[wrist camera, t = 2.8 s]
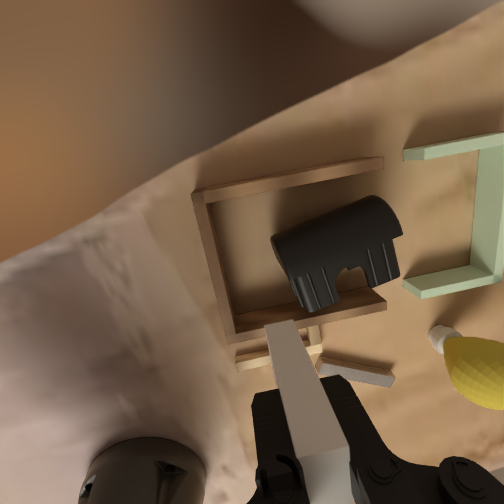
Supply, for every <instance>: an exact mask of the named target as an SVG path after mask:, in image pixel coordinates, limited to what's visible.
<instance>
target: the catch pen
mask: <svg viewBox="0 0 504 504" xmlns="http://www.w3.org/2000/svg"><path fill="white" fill-rule="evenodd" d="M474 150H479V160H478V171H477V183H476V195H475V206H474V218H473V230H472V241H471V253H470V265H467V266H462V267H458V268H453V269H448V270H444V271H439V272H434V273H430V274H425V275H420V276H416V277H411V278H406V279H403V287H404V288H405V289H406V290H408V291H409V292H411V293H412V294H414V295H415V296H417V297H418V298H420V299H425V298H430V297H434V296H439V295H443V294H448V293H452V292H457V291H462V290H466V289H471V288H475V287H480V286H484V285H489V284H494V283H498V282H502V277H503V269H504V131H503V132H494V133H487V134H482V135H477V136H472V137H467V138H461V139H456V140H451V141H446V142H441V143H436V144H430V145H425V146H420V147H415V148H410V149H404V150H403V160H428V159H433V158H438V157H443V156H448V155H453V154H458V153H463V152H469V151H474Z"/></svg>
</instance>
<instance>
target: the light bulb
mask: <svg viewBox="0 0 504 504" xmlns="http://www.w3.org/2000/svg"><path fill="white" fill-rule="evenodd" d="M428 336H429V339H430V340H431V341H432V345H433V347H434V348H435V349H436V350H437V351H439V352H440V353H441V354H444V358H445V364H446V367H447V370H448V372H449V375H450V378H451V381H452V383H453V385H454V387H455V388H456V389H457V390H458V391H459V392H460V393H461V394H462V395H463V396H465V397H466V398H467V399H469V400H470V401H472V402H473V403H475V404H477V405H480V406H483V407H486V408H490V409H496V410H504V343H501V342H498V341H494V340H488V339H483V338H477V337H463V336H462V335H461V334H460V333H459V332H458V331H456V330H455V329H453V328H450V327H444V326H443V325H437V326H435V327H433V328H432V329H431V330H430V332H429V335H428Z"/></svg>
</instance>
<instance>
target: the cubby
mask: <svg viewBox="0 0 504 504" xmlns="http://www.w3.org/2000/svg"><path fill="white" fill-rule="evenodd" d="M380 169H384V157H363V158H358V159H353V160H347V161H342V162H337V163H332V164H327V165H321V166H316V167H311V168H306V169H301V170H295V171H290V172H285V173H280V174H275V175H270V176H264V177H259V178H254V179H249V180H244V181H238V182H233V183H228V184H223V185H218V186H213V187H207V188H202V189H197V190H194V191H193V192H192V193H191V198H192V202H193V206H194V210H195V214H196V218H197V222H198V226H199V230H200V234H201V238H202V242H203V246H204V250H205V254H206V258H207V262H208V266H209V270H210V274H211V278H212V282H213V286H214V290H215V294H216V298H217V302H218V306H219V310H220V314H221V318H222V322H223V326H224V330H225V334H226V338H227V342H228V345H229V344H233V343H238V342H242V341H247V340H251V339H256V338H261V337H265V336H266V333H265V328H264V325H268V324H273V323H278V322H282V321H287V320H292V319H293V321H294V323H295V325H296V327H297V329H302V328H306V327H311V326H315V325H320V324H325V323H329V322H334V321H338V320H343V319H347V318H352V317H357V316H361V315H366V314H370V313H375V312H379V311H384V310H387V301H386V300H385V299H383V298H382V297H381V296H380V295H379V294H377V293H376V292H375V291H374V290H373V289H372V288H370V287H364V288H360V289H355V290H350V291H346V292H341V293H338V296H339V299H340V301H339V302H337V303H334V304H332V305H330V306H327V307H325V308H322V309H320V310H317V311H315V312H307V311H306V310H305V308H304V307H301V306H300V303H299V302H295V303H290V304H285V305H281V306H276V307H271V308H267V309H262V310H257V311H253V312H248V313H243V314H239V315H234V312H233V307H232V303H231V298H230V294H229V290H228V285H227V281H226V277H225V272H224V268H223V264H222V259H221V255H220V251H219V246H218V242H217V238H216V233H215V229H214V225H213V220H212V216H211V211H210V207H209V203H211V202H216V201H221V200H227V199H232V198H237V197H242V196H247V195H252V194H257V193H262V192H268V191H273V190H278V189H283V188H288V187H293V186H298V185H303V184H308V183H314V182H319V181H324V180H329V179H334V178H339V177H344V176H349V175H355V174H360V173H365V172H370V171H375V170H380Z"/></svg>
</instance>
